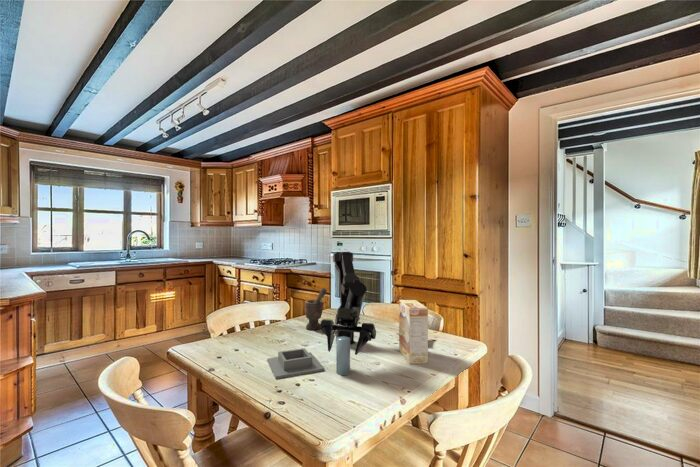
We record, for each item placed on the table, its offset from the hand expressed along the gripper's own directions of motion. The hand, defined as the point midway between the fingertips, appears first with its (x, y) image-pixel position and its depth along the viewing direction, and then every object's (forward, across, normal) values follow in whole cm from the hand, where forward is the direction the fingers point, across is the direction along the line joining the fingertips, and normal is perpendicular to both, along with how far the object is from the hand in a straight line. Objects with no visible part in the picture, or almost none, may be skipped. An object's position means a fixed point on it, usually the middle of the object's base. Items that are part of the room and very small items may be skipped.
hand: (342, 352), depth 104 cm
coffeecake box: (-11, +20, +21) cm, 31 cm away
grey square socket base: (+4, -18, +6) cm, 19 cm away
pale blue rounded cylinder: (+4, 0, +6) cm, 7 cm away
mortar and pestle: (-27, -28, +36) cm, 53 cm away
